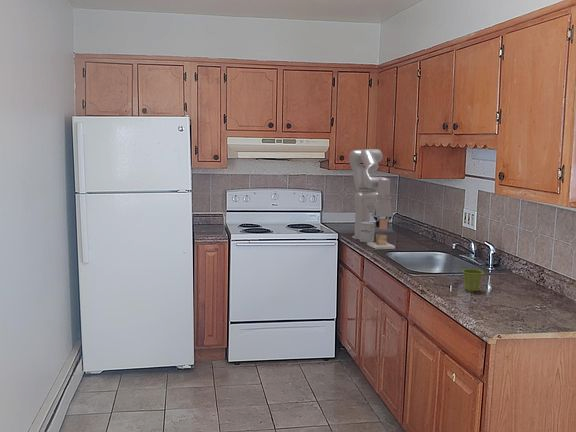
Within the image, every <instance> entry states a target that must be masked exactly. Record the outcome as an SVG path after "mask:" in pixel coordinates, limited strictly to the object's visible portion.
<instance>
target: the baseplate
mask: <svg viewBox="0 0 576 432" xmlns="http://www.w3.org/2000/svg"><path fill="white" fill-rule="evenodd" d="M366 245H367V246H369V248H370V247H371V248H373V249H374V248H375V250H391V249H396V245H394V244H391V243H389V242H387V243H386V245H378V244H376V241H375V242H371V243H366Z"/></svg>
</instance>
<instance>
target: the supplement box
mask: <svg viewBox="0 0 576 432" xmlns="http://www.w3.org/2000/svg"><path fill="white" fill-rule="evenodd" d="M375 226H376V222H372V221H369V222H362V223H361V231H360V239H359V242H360V243H366V244H367V243H371V242H374V241H375Z"/></svg>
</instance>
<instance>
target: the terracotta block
mask: <svg viewBox="0 0 576 432" xmlns="http://www.w3.org/2000/svg"><path fill="white" fill-rule="evenodd" d="M387 227H388V228H389V225H388V219H386V218H379V228H378V227H376V229H377V230H388V228H387Z"/></svg>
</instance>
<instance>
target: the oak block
mask: <svg viewBox="0 0 576 432" xmlns="http://www.w3.org/2000/svg"><path fill="white" fill-rule="evenodd" d="M387 240H388V235H387V234H384V233H376V234H375V242H376V244H378V245H386V243H388V241H387Z"/></svg>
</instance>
